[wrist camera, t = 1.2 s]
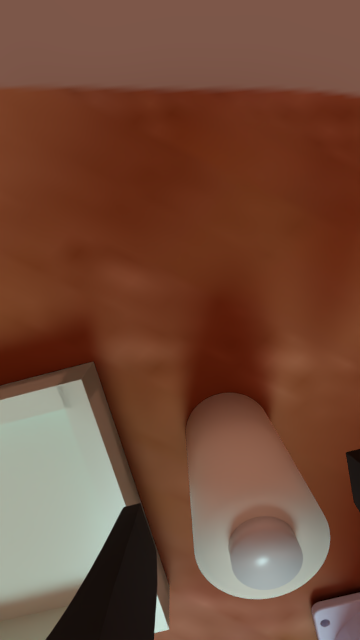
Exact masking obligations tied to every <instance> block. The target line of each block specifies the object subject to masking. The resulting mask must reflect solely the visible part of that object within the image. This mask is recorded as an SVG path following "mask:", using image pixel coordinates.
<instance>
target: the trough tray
mask: <svg viewBox="0 0 360 640" xmlns="http://www.w3.org/2000/svg"><path fill="white" fill-rule="evenodd" d="M138 503H141V501H140V498H139V495H138V492H137V489H136V486H135V483H134V480H133V477H132V474H131V471H130V468H129V465H128V462H127V459H126V456H125V453H124V450H123V447H122V444H121V441H120V438H119V435H118V433H117V430H116V427H115V424H114V421H113V418H112V415H111V412H110V409H109V406H108V403H107V400H106V397H105V394H104V391H103V388H102V385H101V382H100V379H99V376H98V373H97V370H96V367H95V364H94V362H90V363H86V364H82V365H78V366H74V367H70V368H66V369H63V370H59V371H55V372H51V373H47V374H43V375H39V376H36V377H32V378H28V379H24V380H20V381H16V382H12V383H8V384H5V385H1V386H0V640H46V638H47V637H48V635H49V634H50V633H51V631H52V630H53V628H54V627H55V625H56V624H57V622H58V621H59V619H60V618H61V616H62V615H63V613H64V612H65V610H66V609H67V607H68V606H69V604H70V603H71V601H72V599H73V598H74V596H75V594H76V593H77V591H78V589H79V588H80V586H81V584H82V583H83V581H84V579H85V578H86V576H87V574H88V573H89V571H90V569H91V567H92V565H93V564H94V562H95V560H96V558H97V556H98V555H99V553H100V551H101V549H102V547H103V545H104V543H105V541H106V540H107V538H108V536H109V534H110V532H111V530H112V528H113V526H114V524H115V522H116V520H117V518H118V516H119V514H120V512H121V510H122V509H123V507H126V506H130V505H134V504H138ZM141 506H142V503H141ZM142 509H143V506H142ZM143 512H144V509H143ZM144 515H145V512H144ZM145 518H146V515H145ZM146 520H147V518H146ZM147 523H148V521H147ZM148 526H149V524H148ZM149 529H150V527H149ZM150 532H151V530H150ZM151 535H152V533H151ZM152 538H153V536H152ZM153 541H154V539H153ZM154 544H155V542H154ZM155 547H156V545H155ZM156 550H157V548H156ZM157 584H158V586H157V601H156V616H155V629H154V633H156V632H160V631H165V630H169V583H168V580H167V577H166V574H165V571H164V569H163V566H162V563H161V560H160V557H159V554H158V551H157Z"/></svg>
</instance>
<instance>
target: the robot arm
mask: <svg viewBox="0 0 360 640" xmlns="http://www.w3.org/2000/svg"><path fill="white" fill-rule="evenodd" d="M346 457H347V463H348V469H349V475H350V481H351V487H352V493H353V499H354V503H355V505H356V507H357V508H358V510H359V512H360V449H358V450H354V451H350V452H346ZM157 586H158V584H157V550H156V547H155V544H154V541H153V538H152V535H151V532H150V529H149V526H148V523H147V520H146V518H145V515H144V512H143V509H142V506H141V503H138V504H134V505H130V506H126V507H123V509H122V510H121V512H120V514H119V516H118V518H117V520H116V522H115V524H114V526H113V528H112V530H111V532H110V534H109V536H108V538H107V540H106V541H105V543H104V545H103V547H102V549H101V551H100V553H99V555H98V556H97V558H96V560H95V562H94V564H93V565H92V567H91V569H90V571H89V573H88V574H87V576H86V578H85V579H84V581H83V583H82V584H81V586H80V588H79V589H78V591H77V593H76V594H75V596H74V598H73V599H72V601H71V603H70V604H69V606H68V607H67V609H66V610H65V612H64V613H63V615H62V616H61V618H60V619H59V621H58V622H57V624H56V625H55V627H54V628H53V630H52V631H51V633H50V634H49V635H48V637H47V638H46V640H154V629H155V616H156V601H157ZM312 615H313V620H314V624H315V629H316V633H317V638H318V640H360V592H359V593H354V594H350V595H346V596H341V597H337V598H333V599H328V600H324V601H320V602H317V603H315V604H314V605H313V607H312Z"/></svg>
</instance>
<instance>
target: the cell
mask: <svg viewBox="0 0 360 640" xmlns="http://www.w3.org/2000/svg"><path fill="white" fill-rule="evenodd" d="M185 433H186V447H187V460H188V473H189V487H190V500H191V513H192V526H193V540H194V553H195V558H196V562H197V564H198V567H199V569H200V570H201V572H202V574H203V575H204V576H205V578H206V579H207V580H208V581H209V582H210V583H211V584H212V585H214V586H215V587H217V588H218V589H220V590H222V591H223V592H225V593H228V594H230V595H233V596H237V597H241V598H247V599H267V598H273V597H277V596H281V595H284V594H286V593H289V592H291V591H293V590H295V589H297V588H299V587H300V586H302V585H303V584H305V583H306V582H307V581H309V580H310V579H311V578H312V577H313V576H314V575H315V574H316V573H317V572H318V570H319V569H320V567H321V566H322V564H323V563H324V561H325V559H326V556H327V554H328V551H329V546H330V530H329V526H328V522H327V520H326V518H325V516H324V514H323V512H322V510H321V509H320V507H319V505H318V503H317V502H316V500H315V498H314V496H313V495H312V493H311V491H310V489H309V488H308V486H307V484H306V482H305V481H304V479H303V477H302V475H301V474H300V472H299V470H298V468H297V467H296V465H295V463H294V461H293V460H292V458H291V456H290V454H289V453H288V451H287V449H286V447H285V446H284V444H283V442H282V440H281V439H280V437H279V435H278V433H277V432H276V430H275V428H274V427H273V425H272V423H271V421H270V420H269V418H268V416H267V414H266V413H265V411H264V409H263V408H262V407H261V406H260V405H259V404H258V403H257V402H256V401H255V400H253V399H252V398H250V397H248V396H246V395H242V394H238V393H221V394H216V395H213V396H211V397H209V398H207V399H205V400H204V401H202V402H201V403H200V404H198V405H197V406H196V407H195V409H194V410H193V411H192V413H191V414H190V416H189V418H188V421H187V424H186V432H185Z"/></svg>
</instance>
